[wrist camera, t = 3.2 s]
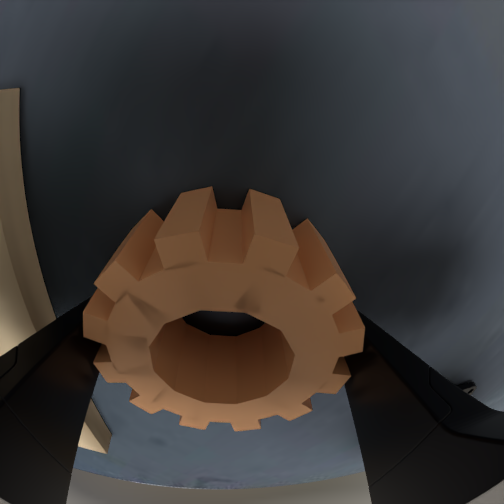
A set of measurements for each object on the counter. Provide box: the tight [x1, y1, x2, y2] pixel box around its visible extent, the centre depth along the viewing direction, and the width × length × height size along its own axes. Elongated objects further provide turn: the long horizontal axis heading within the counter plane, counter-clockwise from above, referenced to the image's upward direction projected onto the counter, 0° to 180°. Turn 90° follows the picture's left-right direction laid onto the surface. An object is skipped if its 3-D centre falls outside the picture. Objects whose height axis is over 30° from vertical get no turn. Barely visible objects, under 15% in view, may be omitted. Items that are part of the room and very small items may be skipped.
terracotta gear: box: [83, 186, 365, 431], centre depth 9 cm, size 7×7×3 cm
